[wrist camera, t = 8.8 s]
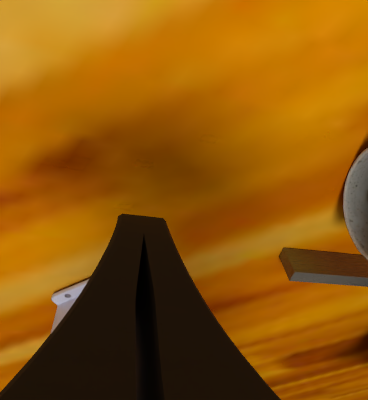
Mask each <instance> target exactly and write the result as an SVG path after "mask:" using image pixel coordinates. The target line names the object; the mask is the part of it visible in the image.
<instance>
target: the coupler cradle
mask: <svg viewBox="0 0 368 400" xmlns="http://www.w3.org/2000/svg"><path fill="white" fill-rule="evenodd" d="M279 258H280V260H281V262H282V264H283V267H284V269H285V271H286V274H287V276H288V278H289V281H300V282H313V283H327V284H340V285H354V286H367V287H368V260H367V259H366V258H365V257H364V256H363V255H355V254H345V253H334V252H324V251H313V250H303V249H293V248H283V250H282V252H281V254H280V255H279Z"/></svg>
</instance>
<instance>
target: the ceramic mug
mask: <svg viewBox="0 0 368 400" xmlns="http://www.w3.org/2000/svg"><path fill="white" fill-rule="evenodd" d="M343 211H344V218H345V222H346V225H347V228H348V231H349V234H350V236H351V238H352V240H353V242H354V244H355V246H356V247H357V249H358V250H359V252H360V253H361V254H362V255H363V256H364V257H365V258H366V259H367V260H368V147H367V148H366V149H365V150H364V151H362V152H361V153H360V155H359V156H358V157H357V159H356V160H355V161H354V163H353V165H352V167H351V169H350V170H349V173H348V176H347V178H346V182H345V187H344V193H343Z"/></svg>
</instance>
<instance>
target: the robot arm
mask: <svg viewBox="0 0 368 400" xmlns="http://www.w3.org/2000/svg"><path fill="white" fill-rule="evenodd" d="M52 301H53V302H54V303H55V304H57V305H58V307H57V311H56V315H55V319H54V322H53V326H52V330H51V334H50V335H49V337H48V338H47V339H46V340H45V342H44V343H43V344H42V346H41V347H40V348H39V349H38V350H37V352H36V353H35V354H34V355H33V356H32V358H31V359H30V360H29V361H28V362H27V363H26V365H25V366H24V367H23V368H22V369H21V370H20V371H19V372H18V373H17V374H16V376H15V377H14V378H13V379H12V380H11V381H10V382H9V383H8V384H7V386H6V387H5V388H4V389H3V390H2V391H1V392H0V400H281V399H280V398H279V397H278V396H277V395H276V394H275V393H274V392H273V391H272V389H271V388H270V387H269V386H268V385H267V384H266V383H265V381H264V380H263V379H262V378H261V377H260V375H259V374H258V373H257V372H256V371H255V369H254V368H253V367H252V366H251V365H250V363H249V362H248V361H247V360H246V359H245V357H244V356H243V355H242V354H241V353H240V351H239V350H238V349H237V347H236V346H235V345H234V343H233V342H232V341H231V339H230V338H229V337H228V335H227V334H226V333H225V331H224V330H223V328H222V327H221V325H220V324H219V323H218V321H217V320H216V318H215V317H214V315H213V314H212V312H211V311H210V309H209V307H208V306H207V304H206V303H205V301H204V299H203V298H202V296H201V294H200V293H199V291H198V289H197V288H196V286H195V284H194V282H193V280H192V279H191V277H190V275H189V273H188V271H187V269H186V267H185V265H184V263H183V261H182V259H181V257H180V255H179V253H178V251H177V249H176V246H175V244H174V242H173V239H172V237H171V234H170V232H169V229H168V226H167V223H166V221H165V220H164V219H163V218H157V217H147V216H138V215H128V214H121V215H120V216H118V220H117V224H116V227H115V230H114V233H113V235H112V238H111V240H110V242H109V244H108V247H107V249H106V250H105V252H104V254H103V256H102V258H101V260H100V262H99V264H98V266H97V267H96V269H95V271H94V272H93V274H92V276H91V277H90V279H88V280H85V281H83V282H81V283H78V284H76V285H73V286H71V287H68V288H66V289H64V290H61V291H59V292H56V293H54V294H53V295H52Z"/></svg>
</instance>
